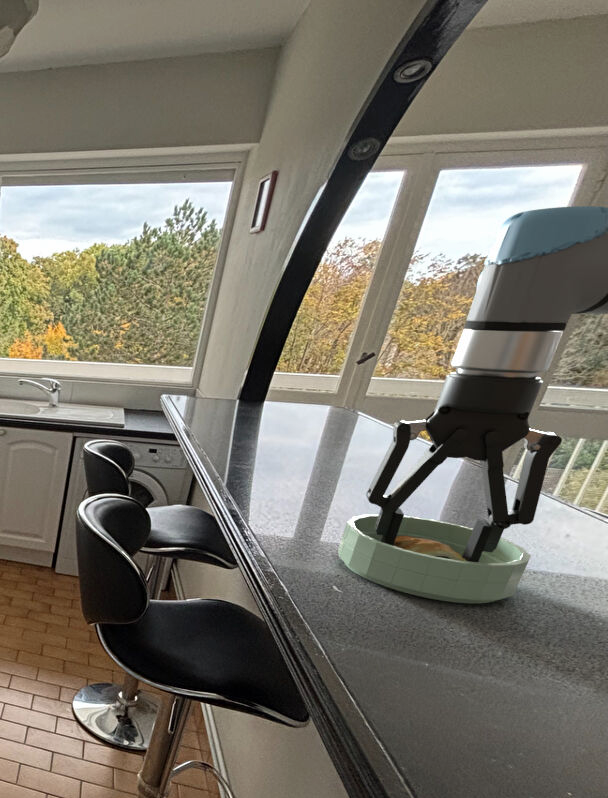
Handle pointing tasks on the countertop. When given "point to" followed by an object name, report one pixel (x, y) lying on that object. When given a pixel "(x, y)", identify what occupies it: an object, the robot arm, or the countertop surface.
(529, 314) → the robot arm
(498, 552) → the bowl
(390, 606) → the countertop surface
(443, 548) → the pastry
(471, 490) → the countertop surface
